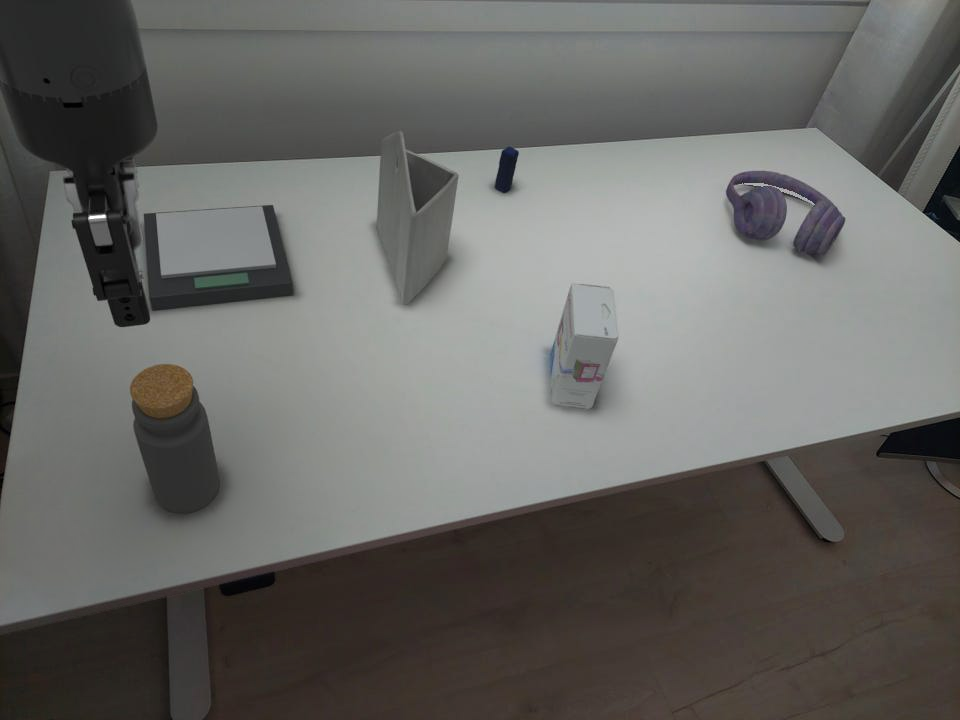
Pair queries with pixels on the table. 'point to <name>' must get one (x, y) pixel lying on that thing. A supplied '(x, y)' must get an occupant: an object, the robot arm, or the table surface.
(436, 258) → the planter
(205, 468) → the bottle
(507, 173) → the eraser
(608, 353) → the ink box
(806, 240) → the headphones
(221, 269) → the scale
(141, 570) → the table surface
